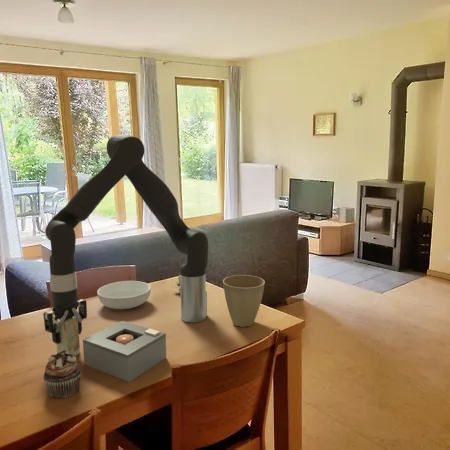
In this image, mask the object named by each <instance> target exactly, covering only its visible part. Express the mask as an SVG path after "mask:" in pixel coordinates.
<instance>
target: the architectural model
mask: <svg viewBox="0 0 450 450" xmlns="http://www.w3.org/2000/svg"><path fill="white" fill-rule="evenodd" d="M171 287H173V288H177V289H178V292H180V293H181V289H180V275H178V281H176V283H174V284H171Z"/></svg>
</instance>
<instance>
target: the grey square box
mask: <svg viewBox="0 0 450 450" xmlns="http://www.w3.org/2000/svg"><path fill="white" fill-rule="evenodd" d="M124 334H129V335H132V336H133V341H131V342H129V343H128V344H126V345H123V344H120V343H117V342H116V338H117V337H118V336H120V335H124ZM166 335H167V334H166V333H165V332H162V331H159V330H156V329H153V328H148V327H144V326H142V325H138V324H135V323H132V322H128V321H125V320H121V321H118V322H116V323H114V324H112V325H110V326H108V327H106V328H103V329H102V330H100V331H97V332H96V333H95V332H94V333H93V334H91V335H90V336H86V337H85V338H83V339H82V348H83V349H82V351H83V362H84V364H83V365H84V366H87V367H90V368H92V369H95V370H97V371H99V372H102V373H104V374H108V375H111V376H112V377H115V378H117V379H121V380H123V381H125V382H127V383H130V382H132V381H133V380H135V379H136V378H137V377H140V376H141V375H143V373H146V372H147V371H148V370H150V369H152V368H153V367H155V366H156V365H157V364H159V363H161V362H163V361H164V360H166V359H167V342H166V341H167V338H166V337H167V336H166Z"/></svg>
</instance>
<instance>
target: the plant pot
mask: <svg viewBox="0 0 450 450" xmlns="http://www.w3.org/2000/svg"><path fill="white" fill-rule="evenodd" d="M222 283H223V284H222V285H223V292H224V298H225V302H226V306H227V310H228V313H229V316H230V320H231V322H232V324H233V326H236V327H238V326H240V328H247V327H246V326H249V327H251V326H253V325H252V324H254V323H255V321H256V317H257V315H258V312H259V311H260V306H261V303H262V299H263V295H264V291H265V290H264V289H265V285H266V284H265V283H266V281H265V280H264V279H263V278H262V277H260V276H255V275H250V274H235V275H231V276H227V277H224V279H222ZM250 325H251V326H250Z"/></svg>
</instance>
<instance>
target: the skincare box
mask: <svg viewBox="0 0 450 450" xmlns="http://www.w3.org/2000/svg"><path fill="white" fill-rule="evenodd" d="M59 321H60V320H59V319H58V322H59ZM56 326H57V324H56ZM59 332H60V343H59V344H56V343H55V345H56V354H58V353H59V352H62V351H65V350H66V352H68V353H69V354H72V355H73V356H74V357H77V356H78V355H79V354H80V353H81V347H80V346H81V345H80V334H79V328H78V320H77V318H76V317H73V318H69V319H67V320H66V321H64V323H63V325H62V326H61V327H60V330H59Z"/></svg>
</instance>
